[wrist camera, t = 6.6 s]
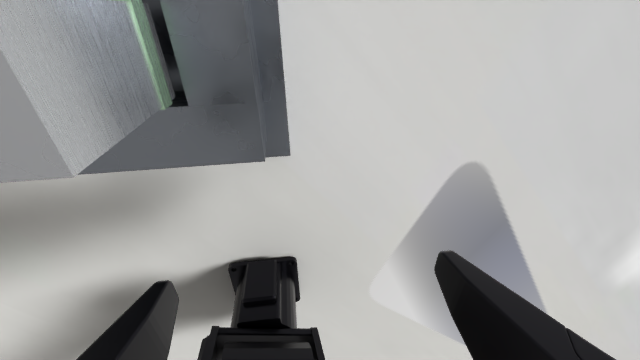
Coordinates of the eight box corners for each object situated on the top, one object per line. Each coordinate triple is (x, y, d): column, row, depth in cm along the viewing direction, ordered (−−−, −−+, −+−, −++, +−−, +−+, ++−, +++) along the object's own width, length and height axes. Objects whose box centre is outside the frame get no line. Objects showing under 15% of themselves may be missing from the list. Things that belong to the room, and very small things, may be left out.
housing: (290, 150, 21) (292, 185, 17) (80, 165, 20) (25, 206, 15) (266, -132, 13) (259, -201, 9) (-86, -142, 12) (-293, -230, 8)
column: (178, 98, 14) (79, 180, 7) (90, 103, 14) (-103, 193, 7) (149, 0, 12) (-32, -18, 5) (43, 2, 11) (-313, -15, 5)
